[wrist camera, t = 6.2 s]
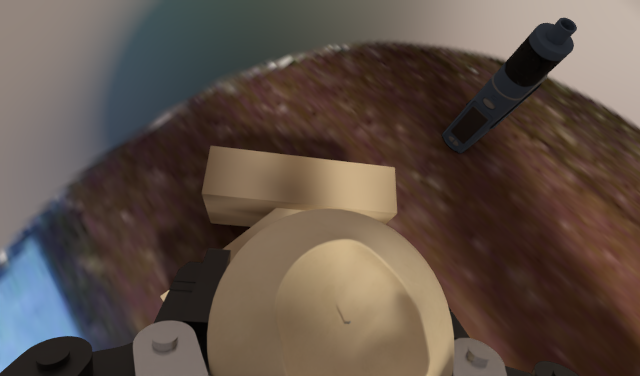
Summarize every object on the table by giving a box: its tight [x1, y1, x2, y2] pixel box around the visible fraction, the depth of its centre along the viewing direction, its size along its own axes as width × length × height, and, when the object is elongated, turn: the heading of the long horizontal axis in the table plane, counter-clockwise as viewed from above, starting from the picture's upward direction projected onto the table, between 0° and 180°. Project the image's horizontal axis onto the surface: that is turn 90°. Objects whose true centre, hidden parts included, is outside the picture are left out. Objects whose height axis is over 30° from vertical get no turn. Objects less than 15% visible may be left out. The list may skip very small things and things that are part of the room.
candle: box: [207, 208, 455, 376], centre depth 11 cm, size 6×6×10 cm
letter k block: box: [160, 146, 397, 301], centre depth 22 cm, size 13×10×5 cm
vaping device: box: [442, 18, 577, 153], centre depth 25 cm, size 3×5×12 cm, turn 129°
